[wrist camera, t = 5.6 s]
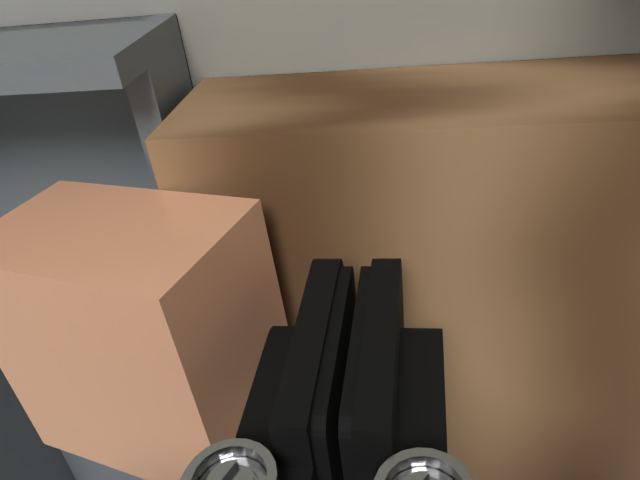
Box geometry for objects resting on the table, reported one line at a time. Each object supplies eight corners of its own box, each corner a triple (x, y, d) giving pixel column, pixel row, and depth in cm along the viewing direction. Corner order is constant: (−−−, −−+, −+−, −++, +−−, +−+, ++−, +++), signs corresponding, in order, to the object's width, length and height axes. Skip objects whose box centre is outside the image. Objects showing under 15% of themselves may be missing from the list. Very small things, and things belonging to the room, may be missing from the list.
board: (1202, 21, 11) (1490, 87, 8) (871, 515, 19) (952, 637, 16) (203, 78, 14) (144, 139, 11) (287, 476, 22) (266, 571, 19)
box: (175, 13, 13) (63, 91, 9) (285, 500, 23) (254, 643, 19) (-157, 39, 15) (-380, 115, 11) (77, 484, 25) (6, 613, 20)
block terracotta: (260, 199, 11) (158, 300, 9) (303, 394, 13) (233, 510, 11) (60, 180, 13) (-63, 257, 11) (131, 352, 15) (43, 443, 13)
